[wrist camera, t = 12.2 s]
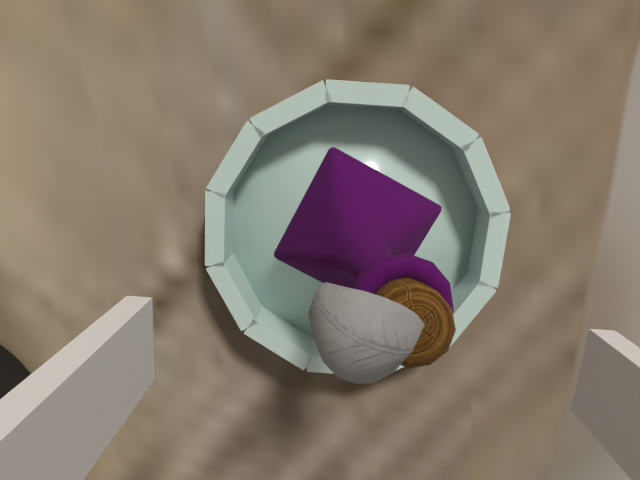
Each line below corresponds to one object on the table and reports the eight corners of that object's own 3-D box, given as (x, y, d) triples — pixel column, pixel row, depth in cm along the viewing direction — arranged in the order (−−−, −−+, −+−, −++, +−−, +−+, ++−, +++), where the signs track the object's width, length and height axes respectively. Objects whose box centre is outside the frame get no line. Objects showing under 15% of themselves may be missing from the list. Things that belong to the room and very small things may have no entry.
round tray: (217, 339, 33) (204, 363, 30) (221, 78, 29) (205, 71, 25) (466, 359, 33) (481, 385, 30) (508, 97, 29) (531, 93, 25)
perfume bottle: (432, 198, 29) (576, 301, 12) (374, 293, 31) (426, 506, 13) (331, 143, 29) (326, 164, 11) (278, 243, 30) (201, 397, 13)
